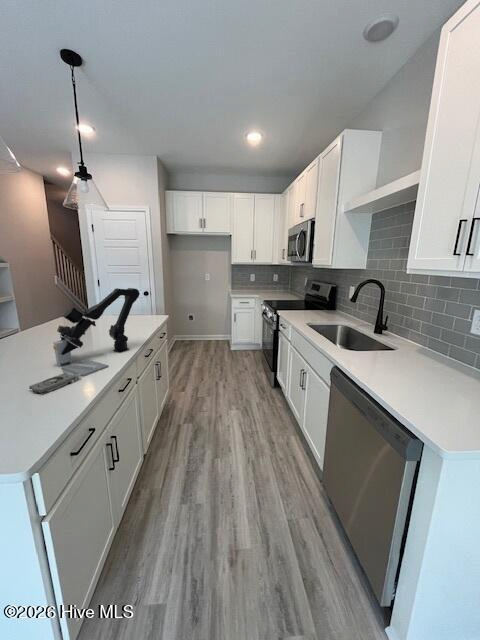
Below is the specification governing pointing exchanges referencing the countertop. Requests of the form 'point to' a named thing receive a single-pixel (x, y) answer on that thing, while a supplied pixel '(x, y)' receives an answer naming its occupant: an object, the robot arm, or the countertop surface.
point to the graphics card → (56, 382)
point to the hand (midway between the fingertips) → (59, 352)
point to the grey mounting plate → (85, 367)
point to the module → (58, 349)
